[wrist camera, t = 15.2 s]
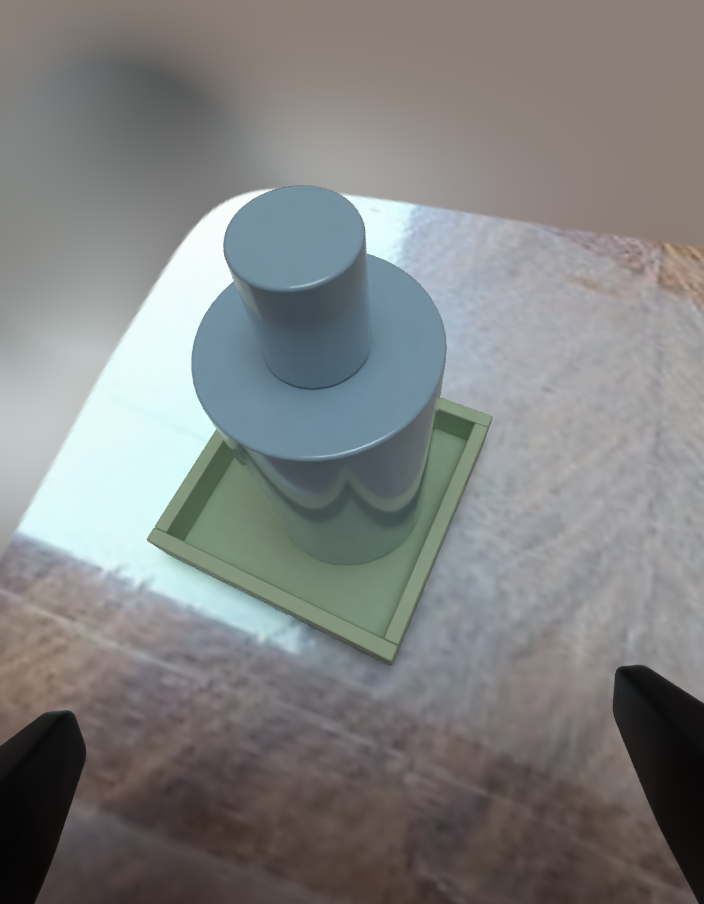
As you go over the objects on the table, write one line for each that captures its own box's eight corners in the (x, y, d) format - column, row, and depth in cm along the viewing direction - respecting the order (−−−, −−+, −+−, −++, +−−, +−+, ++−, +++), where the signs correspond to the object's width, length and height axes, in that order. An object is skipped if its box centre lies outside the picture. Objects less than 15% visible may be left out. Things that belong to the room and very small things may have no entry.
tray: (391, 666, 18) (391, 661, 16) (169, 555, 20) (145, 539, 18) (484, 441, 21) (493, 415, 19) (283, 367, 23) (273, 337, 21)
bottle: (453, 522, 19) (533, 283, 8) (309, 593, 18) (185, 436, 7) (381, 401, 21) (368, 89, 10) (252, 460, 20) (92, 191, 10)
